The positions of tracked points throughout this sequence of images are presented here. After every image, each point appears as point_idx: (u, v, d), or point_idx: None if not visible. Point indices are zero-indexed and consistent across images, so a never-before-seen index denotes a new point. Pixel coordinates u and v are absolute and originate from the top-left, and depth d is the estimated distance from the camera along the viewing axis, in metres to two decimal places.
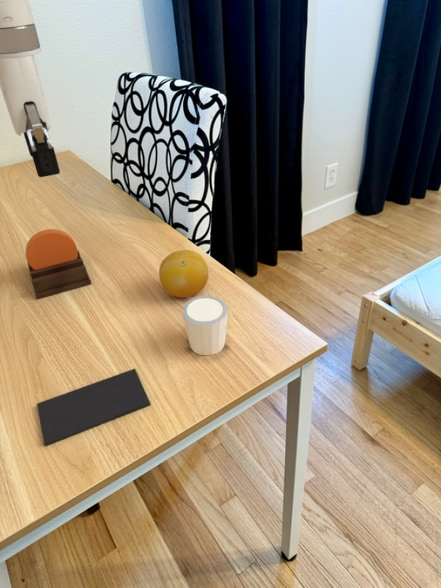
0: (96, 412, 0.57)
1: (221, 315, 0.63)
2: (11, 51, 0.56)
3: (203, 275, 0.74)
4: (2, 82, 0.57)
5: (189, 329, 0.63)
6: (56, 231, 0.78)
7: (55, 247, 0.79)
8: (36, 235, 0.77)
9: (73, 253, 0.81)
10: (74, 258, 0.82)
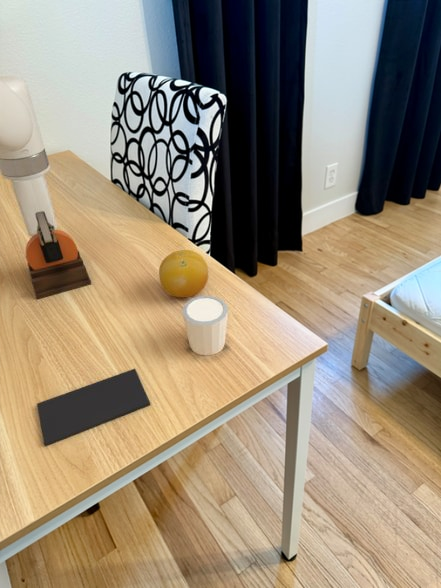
0: (96, 412, 0.57)
1: (221, 315, 0.63)
2: (25, 174, 0.67)
3: (203, 275, 0.74)
4: (18, 198, 0.68)
5: (189, 329, 0.63)
6: (56, 231, 0.78)
7: None
8: (36, 235, 0.77)
9: (73, 253, 0.81)
10: (74, 258, 0.82)
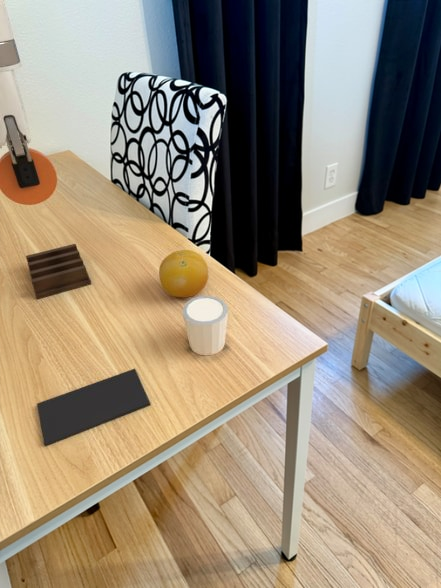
0: (96, 412, 0.57)
1: (221, 315, 0.63)
2: None
3: (203, 275, 0.74)
4: None
5: (189, 329, 0.63)
6: (31, 150, 0.68)
7: None
8: (7, 153, 0.67)
9: (52, 179, 0.71)
10: (53, 185, 0.71)
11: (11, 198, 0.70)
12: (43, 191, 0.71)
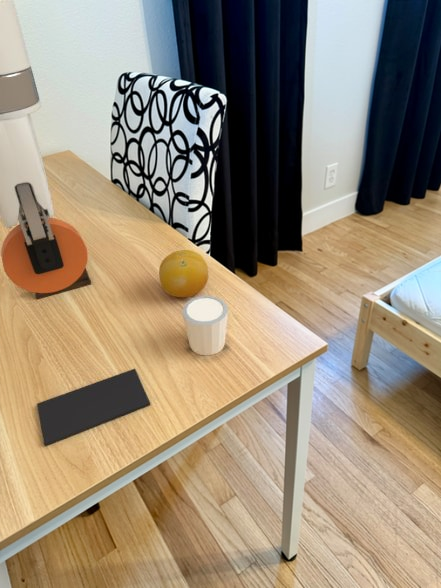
0: (96, 412, 0.57)
1: (221, 315, 0.63)
2: None
3: (203, 275, 0.74)
4: None
5: (189, 329, 0.63)
6: (53, 221, 0.47)
7: None
8: (19, 227, 0.46)
9: (80, 257, 0.50)
10: (82, 265, 0.51)
11: (23, 286, 0.49)
12: (67, 274, 0.50)
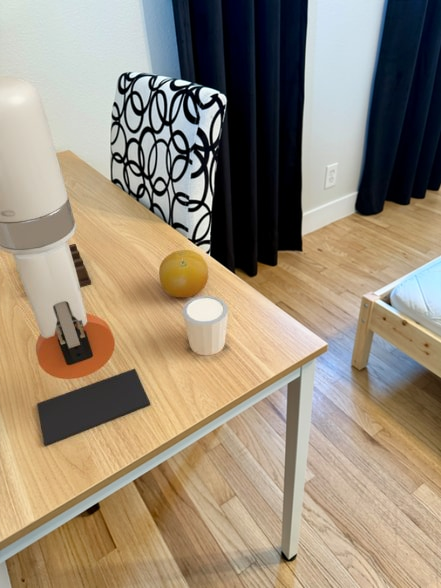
0: (96, 412, 0.57)
1: (221, 315, 0.63)
2: (37, 245, 0.39)
3: (203, 275, 0.74)
4: (24, 284, 0.40)
5: (189, 329, 0.63)
6: None
7: None
8: None
9: (108, 346, 0.53)
10: (109, 352, 0.54)
11: (55, 375, 0.52)
12: (96, 361, 0.54)
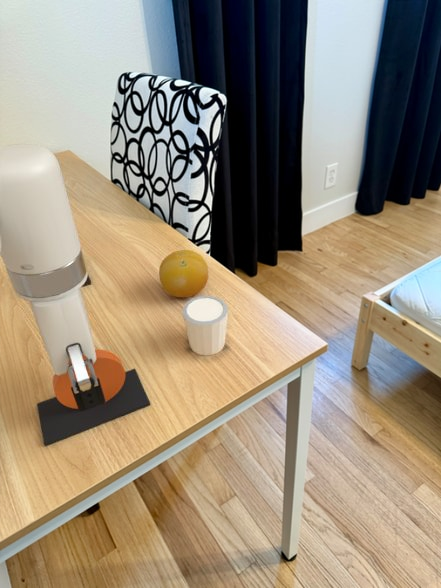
0: (96, 412, 0.57)
1: (221, 315, 0.63)
2: (52, 294, 0.43)
3: (203, 275, 0.74)
4: (40, 328, 0.44)
5: (189, 329, 0.63)
6: (100, 353, 0.54)
7: (96, 375, 0.55)
8: None
9: (119, 380, 0.57)
10: (119, 385, 0.58)
11: (68, 405, 0.56)
12: (106, 393, 0.58)
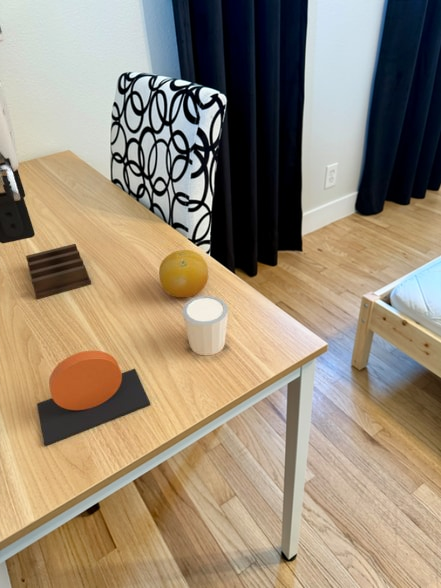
0: (96, 412, 0.57)
1: (221, 315, 0.63)
2: None
3: (203, 275, 0.74)
4: None
5: (189, 329, 0.63)
6: (93, 355, 0.54)
7: (91, 376, 0.55)
8: (64, 363, 0.53)
9: (116, 379, 0.57)
10: (117, 384, 0.58)
11: (67, 407, 0.56)
12: (104, 393, 0.58)
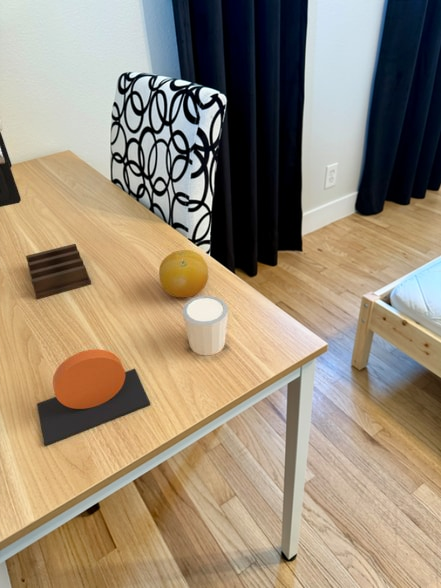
0: (96, 412, 0.57)
1: (221, 315, 0.63)
2: None
3: (203, 275, 0.74)
4: None
5: (189, 329, 0.63)
6: (100, 353, 0.54)
7: (96, 375, 0.55)
8: (71, 360, 0.53)
9: (119, 380, 0.57)
10: (119, 385, 0.58)
11: (68, 405, 0.56)
12: (106, 393, 0.58)
